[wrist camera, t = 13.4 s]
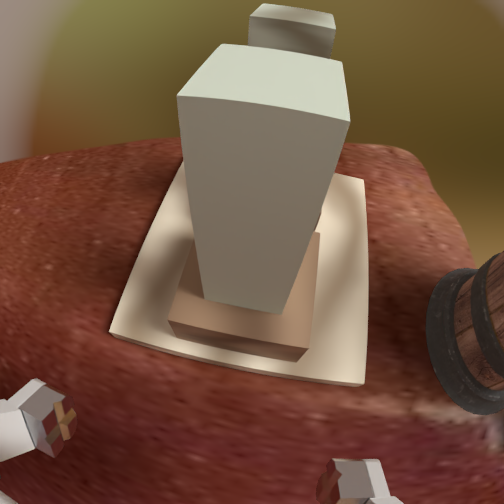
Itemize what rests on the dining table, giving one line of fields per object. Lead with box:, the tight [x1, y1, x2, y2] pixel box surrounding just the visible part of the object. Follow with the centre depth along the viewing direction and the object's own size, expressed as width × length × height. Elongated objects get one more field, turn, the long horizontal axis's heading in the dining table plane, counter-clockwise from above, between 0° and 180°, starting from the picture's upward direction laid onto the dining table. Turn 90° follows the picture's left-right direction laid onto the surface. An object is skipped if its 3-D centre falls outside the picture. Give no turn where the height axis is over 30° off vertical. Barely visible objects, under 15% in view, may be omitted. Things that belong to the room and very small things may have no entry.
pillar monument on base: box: [109, 4, 368, 387], centre depth 20 cm, size 20×22×20 cm
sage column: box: [177, 44, 350, 315], centre depth 15 cm, size 5×5×14 cm
